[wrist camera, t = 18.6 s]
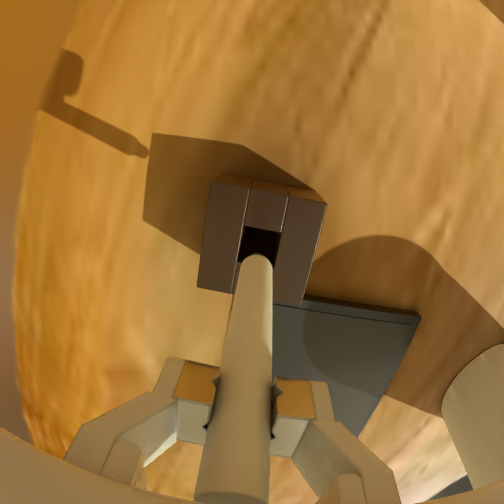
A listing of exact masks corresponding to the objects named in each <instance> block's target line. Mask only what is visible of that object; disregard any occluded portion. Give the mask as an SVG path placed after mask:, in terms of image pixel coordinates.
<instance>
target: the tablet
mask: <svg viewBox="0 0 504 504" xmlns="http://www.w3.org/2000/svg"><path fill="white" fill-rule="evenodd" d="M420 320H421V316H420V314H419V313H418V312H413V311H406V310H399V309H392V308H386V307H379V306H372V305H366V304H360V303H353V302H347V301H341V300H335V299H329V298H323V297H317V296H311V295H305V294H304V297H303V301H302V304H301V306H297V305H291V304H285V303H279V302H274V301H272V383H273V380H274V378H275V376H276V377H284V378H292V379H300V380H308V381H309V380H313V381H325V382H326V383H327V384H328V389H329V394H330V399H331V404H332V408H333V413H334V418H335V421H337V422H341V423H342V424H343V425H344V426H345V427H346V428H347V429H348V430H349V431H350V432H351V433H352V434H353V435H354V436H355V437H356V438H357V437H358V436H359V434H360V433H361V431H362V430H363V428H364V426H365V425H366V423H367V422H368V420H369V418H370V417H371V415H372V413H373V412H374V410H375V408H376V407H377V405H378V403H379V401H380V400H381V398H382V396H383V394H384V393H385V391H386V389H387V387H388V385H389V384H390V382H391V380H392V378H393V376H394V374H395V372H396V370H397V368H398V366H399V365H400V363H401V361H402V359H403V357H404V355H405V352H406V350H407V348H408V346H409V344H410V342H411V340H412V338H413V336H414V333H415V331H416V329H417V327H418V325H419V322H420Z"/></svg>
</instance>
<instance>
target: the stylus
mask: <svg viewBox="0 0 504 504" xmlns="http://www.w3.org/2000/svg"><path fill="white" fill-rule="evenodd" d="M271 392H272V265H271V263H270V261H269V260H268V259H267V258H265V256H264V255H262V254H260V253H254V254H252V255H251V256H249V257H247V258H246V259H245V260H244V261H243V262H242V264H241V267H240V272H239V277H238V282H237V287H236V291H235V296H234V301H233V306H232V310H231V315H230V320H229V325H228V330H227V335H226V339H225V344H224V349H223V354H222V359H221V364H220V373H219V379H218V385H217V390H216V393H215V399H214V405H213V410H212V415H211V419H210V422H209V423H208V428H207V433H206V438H205V443H204V448H203V453H202V458H201V463H200V468H199V473H198V478H197V483H196V488H195V494H194V501H195V502H200V503H206V504H269V476H270V441H271Z"/></svg>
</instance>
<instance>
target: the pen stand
mask: <svg viewBox="0 0 504 504" xmlns="http://www.w3.org/2000/svg"><path fill="white" fill-rule="evenodd" d="M326 207H327V203H326V202H325V201H324V200H323V199H322V197H321V196H320V195H319V194H318V193H317V192H316V191H314V190H309V189H304V188H299V187H295V186H290V185H284V184H280V183H274V182H269V181H264V180H259V179H253V178H248V177H242V176H237V175H231V174H225V173H222V174H221V175H220V176H218V177H217V178H216V179H214V180H213V181H211V185H210V192H209V198H208V205H207V212H206V219H205V226H204V233H203V240H202V248H201V256H200V263H199V271H198V280H197V287H199V288H204V289H209V290H214V291H219V292H224V293H229V294H231V293H232V294H234V295H235V291H236V287H237V282H238V277H239V272H240V267H241V264H242V262H243V261H244V260H245V259H246V258H247V257H249V256H251V255H252V254H254V253H260V254H262V255H264V256H265V258H267V259H268V260H269V261H270V263H271V265H272V301H274V302H279V303H285V304H291V305H297V306H301V304H302V301H303V297H304V294H305V290H306V286H307V283H308V279H309V275H310V271H311V268H312V264H313V260H314V256H315V252H316V248H317V244H318V240H319V236H320V232H321V228H322V224H323V220H324V216H325V212H326ZM245 226H249V227H254V228H259V229H265V230H270V231H275V232H276V233H275V238H274V242H273V244H269V243H263V242H258V241H253V240H247V239H243V236H244V230H245Z"/></svg>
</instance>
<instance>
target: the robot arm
mask: <svg viewBox="0 0 504 504" xmlns="http://www.w3.org/2000/svg"><path fill="white" fill-rule="evenodd" d="M219 373H220V367H217V366H212V365H208V364H203V363H199V362H195V361H190V360H185V359H181V358H177V357H173V356H169V357H168V358H167V359H166V362H165V364H164V366H163V369H162V371H161V373H160V376H159V378H158V380H157V383H156V385H155V387H154V390H153V392H152V393H151V392H145V393H144V394H142V395H140V396H138V397H136V398H134V399H132V400H130V401H128V402H126V403H125V404H123V405H121V406H119V407H117V408H115V409H113V410H111V411H109V412H107V413H105V414H103V415H101V416H99V417H97V418H95V419H93V420H91V421H89V422H87V423H85V424H83V425H81V427H80V429H79V431H78V433H77V434H76V436H75V438H74V440H73V441H72V443H71V445H70V447H69V449H68V451H67V452H66V454H65V456H64V458H63V460H62V459H60V458H58V457H55V456H53V455H51V454H49V453H47V452H45V451H43V450H41V449H39V448H37V447H35V446H33V445H31V444H29V443H27V442H26V441H24V440H22V439H20V438H18V437H16V436H15V435H13V434H11V433H9V432H8V431H6V430H4V429H3V428H1V427H0V504H206V503H200V502H195V501H190V500H185V499H180V498H176V497H172V496H167V495H163V494H159V493H155V492H152V491H148V490H147V487H146V480H145V474H144V467H145V466H147V465H148V464H149V463H151V462H152V461H153V460H154V459H156V458H157V457H158V456H159V455H161V454H162V453H163V452H164V451H166V450H167V449H168V448H169V447H170V446H172V445H173V444H174V443H175V442H176V440H179V441H183V442H189V443H194V444H199V445H204V443H205V438H206V433H207V428H208V423H209V422H210V419H211V415H212V410H213V405H214V399H215V393H216V390H217V385H218V379H219ZM270 455H272V456H280V457H290V458H291V459H292V461H293V462H294V464H295V465H296V467H297V468H298V469H299V471H300V472H301V474H302V475H303V477H304V478H305V480H306V481H307V482H308V484H309V485H310V487H311V488H312V489H313V491H314V492H315V494H316V495H317V496H318V498H319V500H318V501H317V502H316V503H315V504H401V500H400V497H399V493H398V489H397V485H396V482H395V478H394V474H393V471H392V470H391V469H390V468H389V467H388V466H387V465H386V464H384V463H383V462H382V461H381V460H380V459H379V458H378V457H377V456H376V455H375V454H374V453H373V452H371V451H370V450H369V449H368V448H367V447H366V446H365V445H364V444H363V443H362V442H361V441H360V440H359V439H358V438H356V437H355V436H354V435H353V434H352V433H351V432H350V431H349V430H348V429H347V428H346V427H345V426H344V425H343V424H342V423H341V422H337V421H335V418H334V413H333V408H332V404H331V399H330V394H329V389H328V384H327V383H326V382H325V381H313V380H309V381H308V380H300V379H292V378H284V377H276V376H275V378H274V380H273V383H272V392H271V441H270ZM416 504H504V480H501V481H499V482H496V483H493V484H490V485H487V486H484V487H481V488H478V489H474V490H471V491H468V492H464V493H460V494H456V495H453V496H449V497H445V498H440V499H436V500H431V501H426V502H421V503H416Z"/></svg>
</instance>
